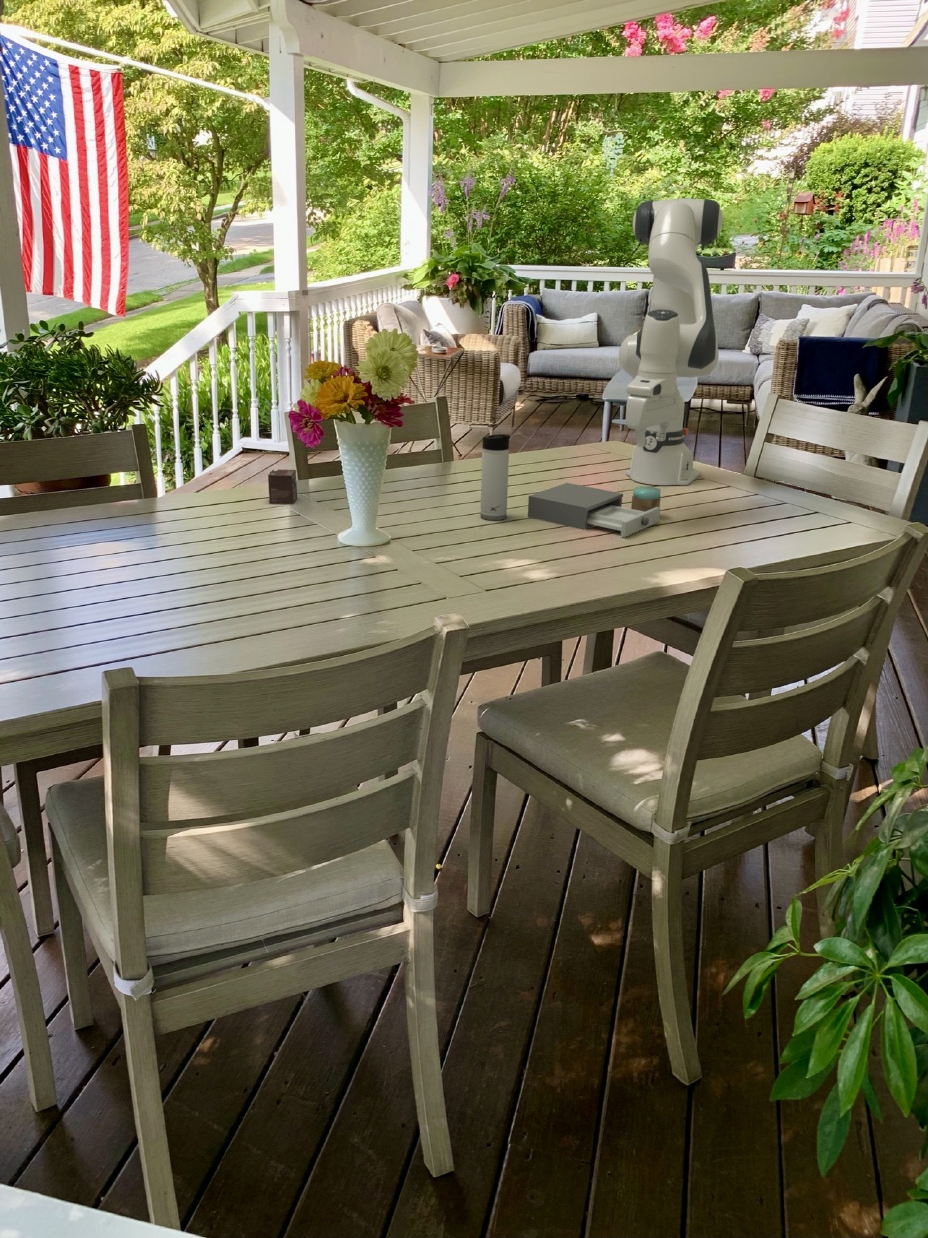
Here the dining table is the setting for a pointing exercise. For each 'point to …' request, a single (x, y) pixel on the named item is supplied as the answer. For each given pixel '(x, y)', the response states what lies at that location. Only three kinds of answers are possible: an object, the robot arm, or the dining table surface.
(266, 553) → the dining table surface
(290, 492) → the box
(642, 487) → the teal flat dome
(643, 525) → the light grey drawer
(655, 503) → the brown wooden cube
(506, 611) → the dining table surface
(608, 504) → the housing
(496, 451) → the travel mug
